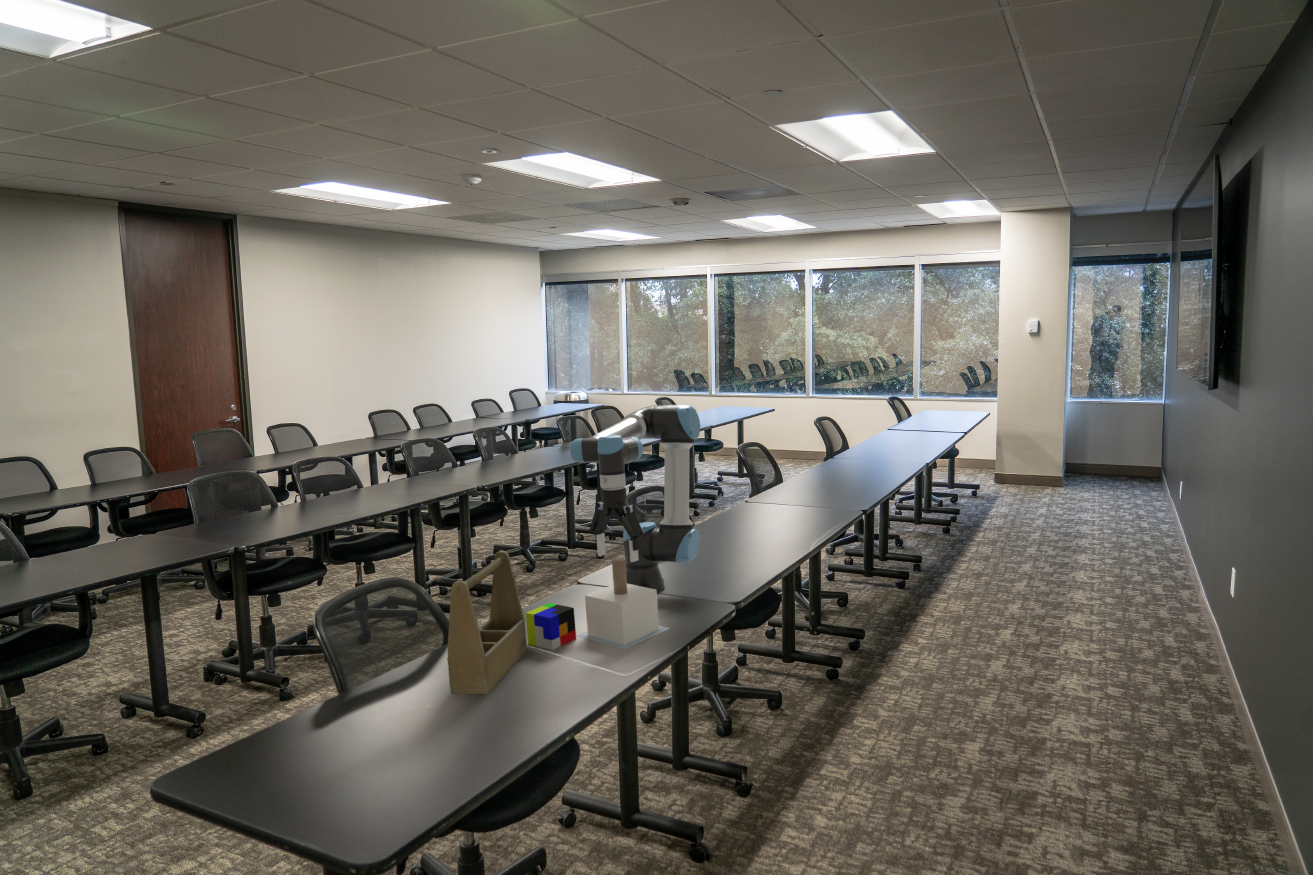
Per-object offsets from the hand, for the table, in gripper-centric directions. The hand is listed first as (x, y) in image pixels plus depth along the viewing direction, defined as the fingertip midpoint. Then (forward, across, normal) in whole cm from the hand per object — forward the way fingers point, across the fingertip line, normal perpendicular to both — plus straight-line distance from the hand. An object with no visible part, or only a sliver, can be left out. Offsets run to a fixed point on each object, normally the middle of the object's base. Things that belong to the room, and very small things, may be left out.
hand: (617, 558), depth 247 cm
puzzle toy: (+24, -13, -16) cm, 32 cm away
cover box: (+23, 0, 0) cm, 23 cm away
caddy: (+24, -11, -40) cm, 48 cm away
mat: (+23, 0, 0) cm, 23 cm away
